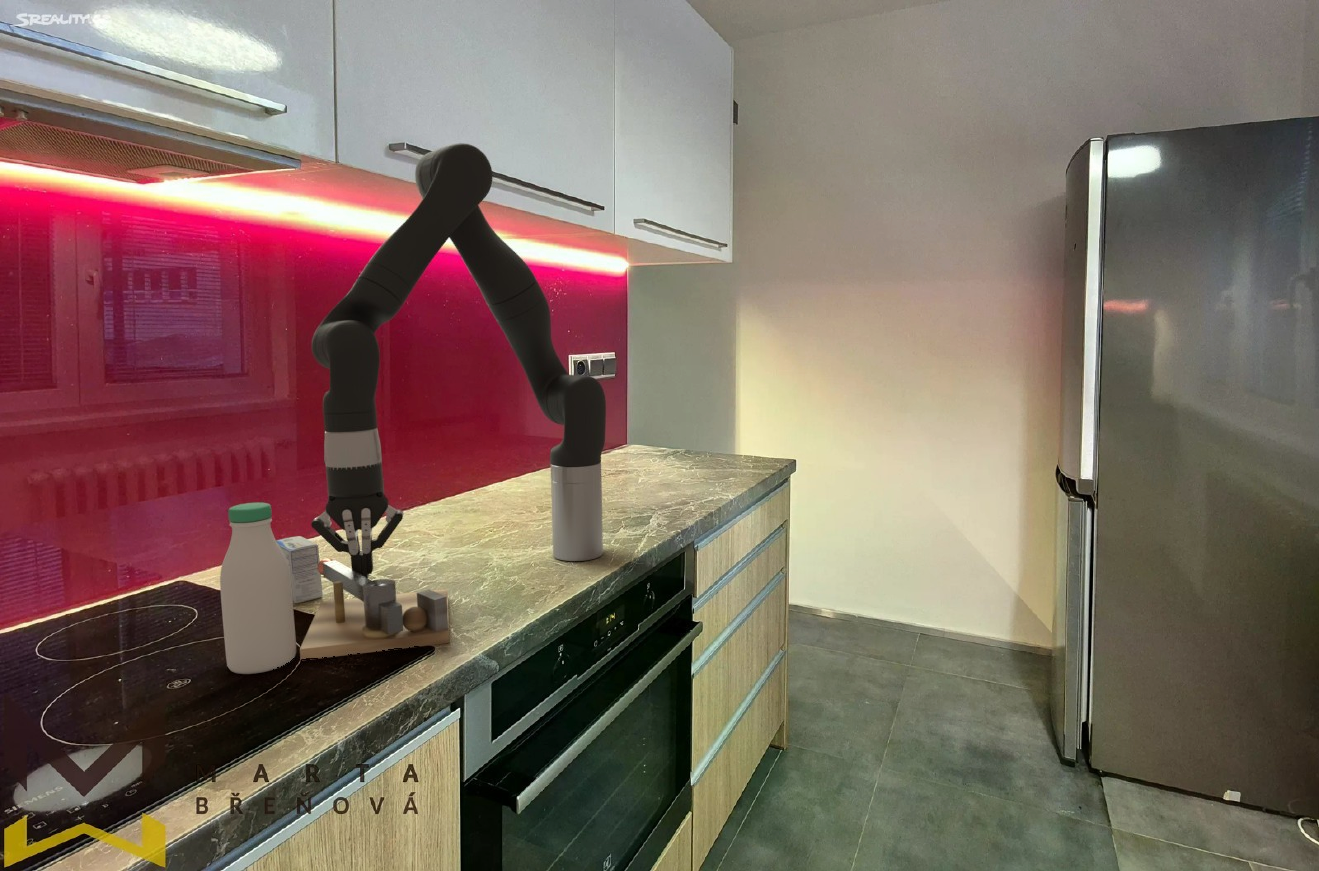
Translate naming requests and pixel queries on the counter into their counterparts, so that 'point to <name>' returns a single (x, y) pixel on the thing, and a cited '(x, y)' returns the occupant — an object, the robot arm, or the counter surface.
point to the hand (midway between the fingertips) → (363, 577)
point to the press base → (346, 632)
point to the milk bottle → (256, 594)
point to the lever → (368, 595)
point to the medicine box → (302, 568)
